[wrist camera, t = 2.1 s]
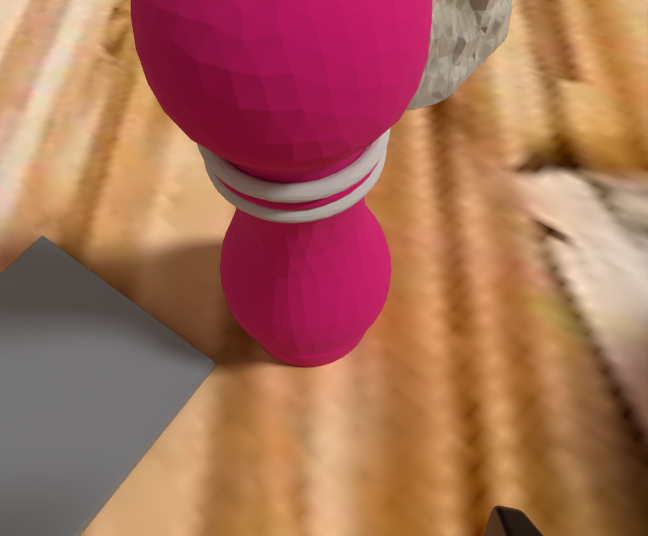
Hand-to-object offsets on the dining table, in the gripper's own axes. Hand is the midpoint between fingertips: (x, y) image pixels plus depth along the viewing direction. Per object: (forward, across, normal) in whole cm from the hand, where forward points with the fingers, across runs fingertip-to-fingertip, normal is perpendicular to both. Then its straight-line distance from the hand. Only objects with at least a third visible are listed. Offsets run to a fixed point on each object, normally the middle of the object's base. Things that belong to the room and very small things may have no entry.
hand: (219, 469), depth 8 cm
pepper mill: (+16, +1, +4) cm, 16 cm away
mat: (+11, +12, +9) cm, 19 cm away
